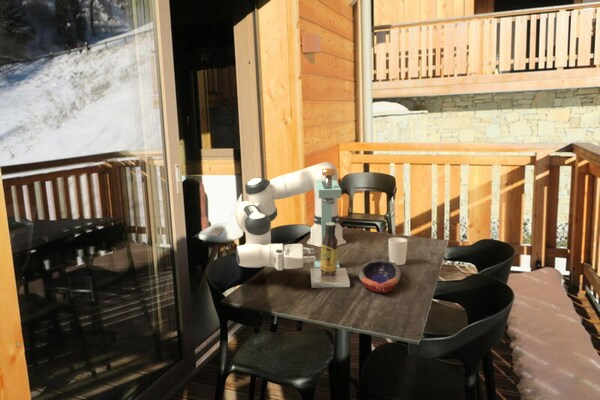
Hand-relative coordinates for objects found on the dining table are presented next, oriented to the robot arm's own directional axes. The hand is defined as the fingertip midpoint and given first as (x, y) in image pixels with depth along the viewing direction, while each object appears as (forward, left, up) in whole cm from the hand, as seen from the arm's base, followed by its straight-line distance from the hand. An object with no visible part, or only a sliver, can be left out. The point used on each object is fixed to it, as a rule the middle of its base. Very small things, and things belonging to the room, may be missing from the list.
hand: (315, 254), depth 188 cm
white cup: (-21, +35, -10) cm, 42 cm away
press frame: (-6, +5, -10) cm, 13 cm away
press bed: (-1, +5, -10) cm, 11 cm away
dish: (+3, +24, -11) cm, 26 cm away
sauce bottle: (-3, +5, -8) cm, 10 cm away
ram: (-1, +5, +20) cm, 21 cm away
